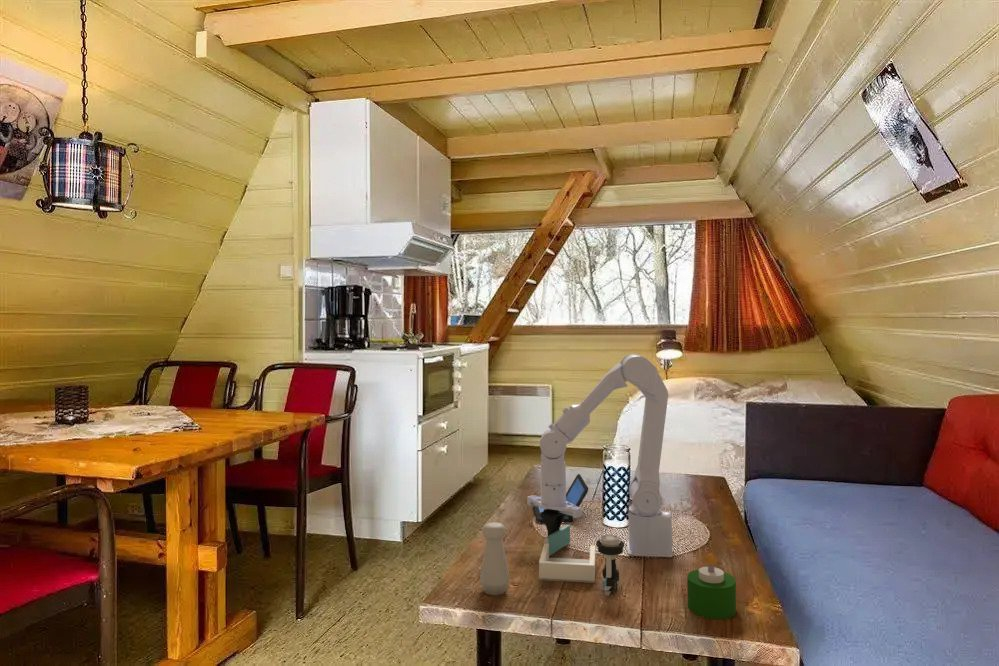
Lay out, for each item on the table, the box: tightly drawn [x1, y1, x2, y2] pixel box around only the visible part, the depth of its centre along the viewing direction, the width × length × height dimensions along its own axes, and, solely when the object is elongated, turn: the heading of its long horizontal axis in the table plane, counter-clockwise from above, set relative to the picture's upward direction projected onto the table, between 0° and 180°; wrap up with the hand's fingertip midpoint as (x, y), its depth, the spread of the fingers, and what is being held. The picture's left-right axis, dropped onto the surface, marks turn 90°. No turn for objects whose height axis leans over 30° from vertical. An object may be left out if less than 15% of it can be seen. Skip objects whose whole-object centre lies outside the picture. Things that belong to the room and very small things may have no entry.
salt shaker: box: [479, 522, 511, 596], centre depth 122 cm, size 6×6×13 cm
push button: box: [595, 534, 625, 596], centre depth 121 cm, size 7×5×10 cm
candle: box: [686, 552, 737, 620], centre depth 113 cm, size 8×8×10 cm
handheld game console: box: [532, 473, 589, 524], centre depth 169 cm, size 16×13×9 cm
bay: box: [538, 543, 597, 584], centre depth 131 cm, size 11×11×4 cm
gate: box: [543, 524, 571, 557], centre depth 142 cm, size 11×1×4 cm, turn 146°
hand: (553, 541), depth 144 cm, fingers closed
